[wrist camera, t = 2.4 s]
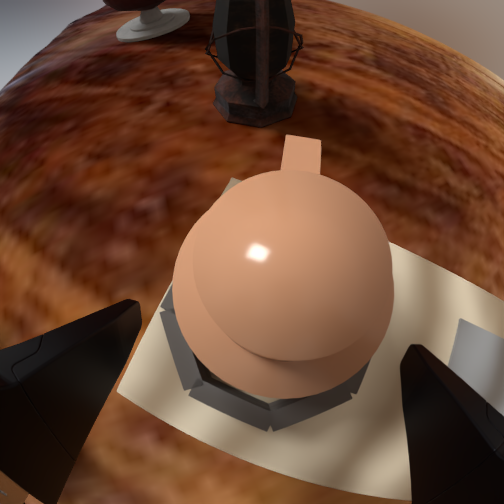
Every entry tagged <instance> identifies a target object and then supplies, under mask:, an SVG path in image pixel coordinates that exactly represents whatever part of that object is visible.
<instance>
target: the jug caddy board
mask: <svg viewBox="0 0 504 504" xmlns="http://www.w3.org/2000/svg"><path fill="white" fill-rule="evenodd" d="M240 182H242V181H240V180H237V179H235V178H232V179H231V180H230V182H229V184H228V185H227V187H226V189H225V190H224V192H223V194H224V193H225V192H227V191H228V190H229V189H231V188H232V187H234V186H235V185H237V184H238V183H240ZM223 194H222V195H223ZM222 195H221V196H222ZM389 245H390V250H391V256H392V269H393V270H392V274H393V280H394V304H393V311H392V316H391V320H390V324H389V326H388V329H387V332H386V334H385V337H384V339H383V340H382V342H381V344H380V346H379V347H378V349H377V351H376V352H375V353H374V355H373V356H372V357H371V359H370V360H369V361H368V362H367V363H366V364H365V365H364V366H363V367H362V368H361V369H360V370H359V371H358V372H357V373H356V374H354V375H353V376H352V377H350V378H349V379H348V380H346V381H345V382H343V383H341V384H339V385H338V386H336V387H334V388H332V389H330V390H327V391H324V392H322V393H319V394H316V395H311V396H306V397H302V398H289V399H281V398H268V397H263V396H259V395H254V394H251V393H248V392H246V391H243V390H240V389H238V388H236V387H234V386H232V385H230V384H228V383H227V382H225V381H223V380H222V379H220V378H219V377H218V376H216V375H215V374H214V373H212V372H211V371H210V370H209V369H208V368H207V367H206V366H205V365H204V364H203V363H202V362H201V361H200V360H199V359H198V358H197V356H196V355H195V354H194V352H193V351H192V350H191V348H190V347H189V345H188V343H187V342H186V340H185V338H184V336H183V334H182V332H181V329H180V327H179V324H178V321H177V318H176V314H175V310H174V305H173V293H172V286H173V280H172V282H171V284H170V286H169V288H168V290H167V292H166V293H165V295H164V297H163V299H162V301H161V303H160V305H159V307H158V308H157V310H156V312H155V314H154V316H153V318H152V320H151V322H150V324H149V326H148V328H147V330H146V332H145V334H144V336H143V338H142V340H141V342H140V344H139V346H138V348H137V350H136V352H135V354H134V356H133V358H132V360H131V362H130V364H129V366H128V368H127V370H126V372H125V374H124V377H123V379H122V381H121V383H120V385H119V387H118V389H117V392H118V393H120V394H121V395H123V396H124V397H126V398H127V399H129V400H130V401H132V402H133V403H135V404H136V405H138V406H140V407H141V408H143V409H144V410H146V411H148V412H149V413H151V414H153V415H154V416H156V417H158V418H159V419H161V420H163V421H165V422H166V423H168V424H170V425H172V426H174V427H175V428H177V429H179V430H181V431H183V432H185V433H187V434H189V435H190V436H192V437H194V438H196V439H198V440H200V441H202V442H205V443H207V444H209V445H211V446H213V447H215V448H217V449H220V450H222V451H224V452H226V453H229V454H231V455H233V456H236V457H238V458H240V459H243V460H245V461H248V462H250V463H253V464H256V465H258V466H261V467H264V468H266V469H269V470H272V471H275V472H278V473H281V474H284V475H287V476H290V477H293V478H297V479H300V480H303V481H307V482H310V483H314V484H318V485H322V486H326V487H330V488H334V489H338V490H343V491H348V492H353V493H358V494H364V495H369V496H376V497H383V498H390V499H399V500H410V501H412V498H411V479H410V466H409V455H408V445H407V437H406V429H405V422H404V415H403V407H402V394H401V379H400V363H401V360H402V358H403V357H404V355H405V353H406V351H407V349H408V347H409V346H410V345H411V344H422V345H423V346H424V347H426V348H427V349H428V350H429V351H430V352H431V353H433V354H434V355H435V356H436V357H437V358H438V359H440V360H441V361H442V362H443V363H444V364H445V365H447V366H448V367H449V368H450V369H451V370H452V371H454V372H455V373H456V374H457V375H458V376H459V377H460V378H462V379H463V380H464V381H465V382H466V383H467V384H468V385H469V386H471V387H472V388H473V389H474V390H475V391H476V392H477V393H478V394H480V395H481V396H482V397H483V398H484V399H485V400H486V402H488V403H490V404H491V405H492V406H493V407H494V408H495V409H496V410H497V411H498V412H500V413H501V414H502V415H503V416H504V301H503V300H501V299H499V298H497V297H496V296H494V295H492V294H490V293H488V292H487V291H485V290H483V289H481V288H479V287H478V286H476V285H474V284H472V283H470V282H468V281H467V280H465V279H463V278H461V277H459V276H457V275H455V274H453V273H451V272H449V271H448V270H446V269H444V268H442V267H440V266H438V265H436V264H434V263H432V262H430V261H428V260H426V259H424V258H422V257H420V256H418V255H416V254H414V253H411V252H409V251H407V250H405V249H403V248H401V247H399V246H397V245H395V244H393V243H390V242H389Z"/></svg>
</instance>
